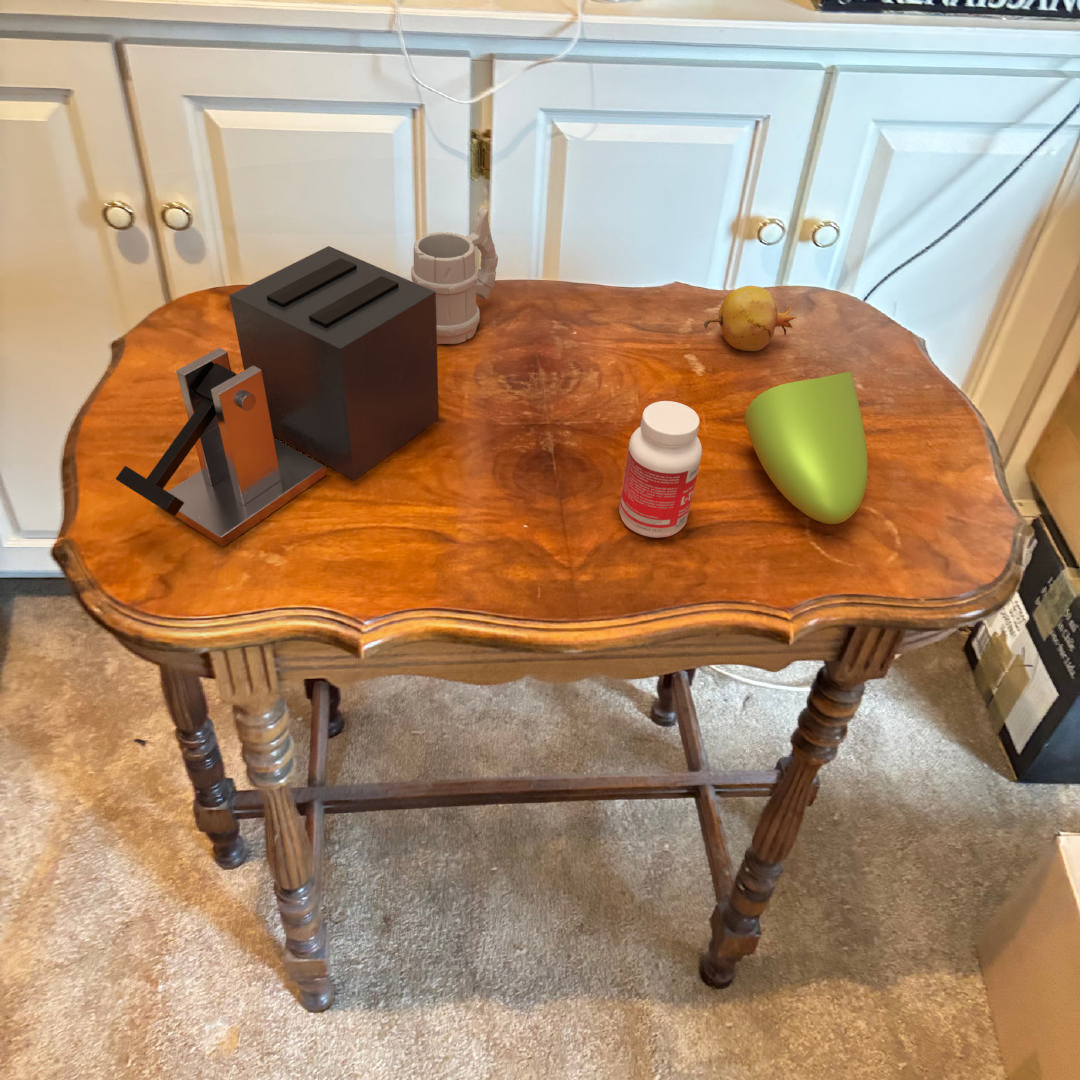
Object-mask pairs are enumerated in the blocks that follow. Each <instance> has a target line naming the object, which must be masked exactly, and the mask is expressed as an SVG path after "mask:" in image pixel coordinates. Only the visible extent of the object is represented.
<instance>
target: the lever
mask: <svg viewBox="0 0 1080 1080" xmlns="http://www.w3.org/2000/svg"><path fill="white" fill-rule="evenodd" d="M237 374H238V373H236V372H235V371H233V370H232V369H231V370H229V369H227V368H225V367H223V366H221V365H219V364H218V363H215V365H214V366H213V367H212V369H211V370H210V371H209V373H208V374H207V376H206V377H205V378H204V380H203V381H202V383H201V384H200V385H199V387H198V388H197V389H196V391H197V392H198V393H199V394H200V395H202V396H203V397H204V400H203V401H202V402H201V404H200V405H199V406H198V408H197V409H196V411H195V412H194V413H193V415H192V416H191V418H190V419H187V421H186V423H185V424H184V426H183V427H182V429H181V430H180V431H179V432H178V434H177V436H175V438H174V440H173V441H172V442H171V444H170V445H169V447H167V449H166V450H165V452H164V454H163V455H162V456H161V457H160V459H159V460H158V462H157V463H156V464H155V466H154V468H152V470H151V471H150V473H149V474H148V476H147V477H145V476H143V475H142V474H139V473H138V472H137V471H135V470H133V469H131V468H130V467H128V466H127V465H124V466H123V467H122V469H121V471H120V472H119V473H118V474H117V476H116V477H115V480H116V481H117V482H119V483H120V484H122V485H123V486H125V487H127V488H129V489H130V490H132V491H133V492H135V493H136V494H138V495H139V496H141V497H142V498H144V499H146V501H147V500H148V501H149V502H150V503H152V504H154V505H155V506H157V507H159V508H160V509H161V510H163V511H165V512H166V513H168V514H169V515H171V516H173V517H175V515H176V514H177V513H178V511H179V510H180V508H181V507H182V506H183V504H184V502H183V501H181V500H180V499H178V498H177V497H175V496H173V495H172V494H170V493H169V492H167V491H168V490H165V489H164V488H165V487H166V486H167V484H168V483H169V481H170V480H171V479H172V478H173V476H174V474H175V473H176V472H177V470H178V469H179V467H180V466H181V465H182V464H183V462H184V460H186V457H187V456H188V455H189V454H190V452H191V451H192V449H193V448H194V447H195V444H196V442H197V441H198V439H199V438H200V437H201V435H202V434H203V432H204V431H205V430H206V428H207V427H208V425H209V424H210V423H211V421H212V420H213V418H214V417H215V416H216V411H215V406H214V402H213V397H212V393H211V389H212V388H214V387H216V386H218V385H219V384H221V383H223V382H225V381H227V380H228V379H230V378H232V377H234V376H235V375H237Z"/></svg>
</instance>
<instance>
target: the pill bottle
mask: <svg viewBox="0 0 1080 1080" xmlns="http://www.w3.org/2000/svg"><path fill="white" fill-rule="evenodd" d="M699 427H700V417H699V415H698V414H697V412H696V411H695V410H694V409H693V408H691V407H690V406H688V405H686V404H683V403H682V402H678V401H671V400H660V401H656V402H652V403H650V404H649V405H647V406H646V407H645V408H644V410H643V412H642V416H641V421H640V426H639V427H637V428H636V429H635V430H634V431H633V433H632V434H631V436H630V439H629V442H628V447H627V455H626V462H625V468H624V474H623V479H622V480H623V481H622V486H621V487H622V488H621V493H620V499H619V505H618V506H619V507H618V509H619V510H618V513H619V515H620V519H621V520H622V522H623V524H624V525H625V526H626V527H627V528H628V529H630V530H631V531H632V532H634V533H636V534H638V535H640V536H644V537H649V538H667V537H671V536H673V535H676V534H677V533H679V532H680V531H681V530H682V529H683V528H684V527H685V526H686V523H687V522H688V518H689V513H690V509H691V504H692V500H693V495H694V491H695V488H696V487H695V486H696V482H697V478H698V474H699V470H700V465H701V460H702V454H703V448H702V443H701V440H700V439H699V436H698V432H699V429H700V428H699Z"/></svg>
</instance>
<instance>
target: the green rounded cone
mask: <svg viewBox="0 0 1080 1080" xmlns="http://www.w3.org/2000/svg"><path fill="white" fill-rule="evenodd" d="M855 385H856V384H855V381H854V377H853V373H852V372H851V371H845V372H840V373H835V374H831V375H827V376H822V377H816V378H810V379H804V380H797V381H791V382H786V383H783V384H780V385H776V386H773V387H771V388H768V389H767V390H764V391H762V393H760V394H759V395H757V396H756V397H755V398H754V399H753V400H752V401H751V403H749V404H748V406H747V408H746V410H745V412H744V416H743V422H744V425H745V428H746V432H747V434H748V436H749V437H748V438H749V439H750V442H751V444H752V447H753V449H754V452H755V454H756V456H757V458H758V460H759V462H760V464H761V466H762V468H763V470H764V471H765V473H766V475H767V476H768V478H769V479H770V481H771V482H772V484H773V485H774V487H776V490H778V491H779V492H780V493H781V495H782V496H783V497H784V498H785V499H786V500H787V501H788V502H789V503H790V504H791V505H792V506H794V507H795V509H797V510H798V511H799V512H801V513H802V514H804V515H805V516H807V517H809V518H810V519H812V520H814V521H816V522H819V523H822V524H827V525H837V524H841V523H843V522H845V521H847V520H849V519H850V518H851V517H852V516H853V515H854V514H855V513H857V510H858V509H859V508H860V505H861V503H862V502H863V499H864V496H865V493H866V489H867V485H868V484H867V483H868V476H869V475H868V474H869V461H868V460H869V458H868V446H867V440H866V433H865V426H864V421H863V416H862V412H861V407H860V402H859V398H858V394H857V389H856V386H855Z"/></svg>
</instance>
